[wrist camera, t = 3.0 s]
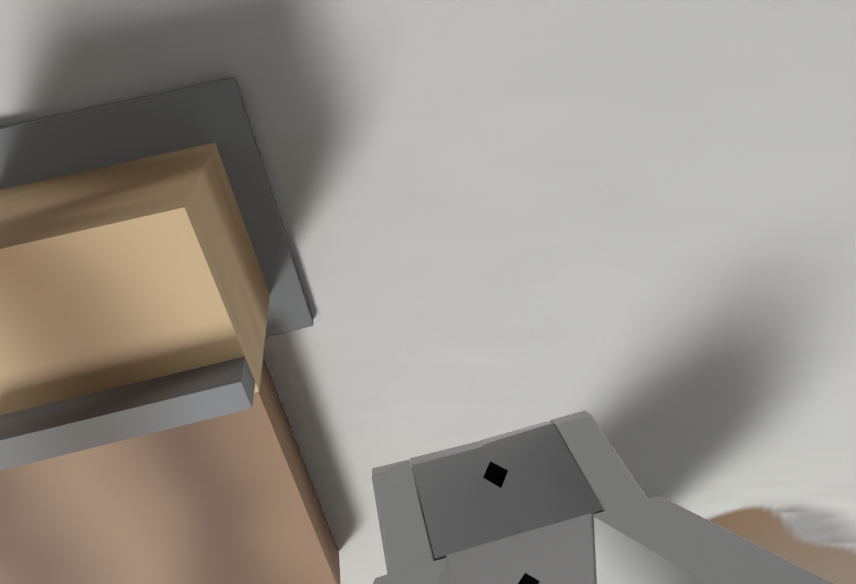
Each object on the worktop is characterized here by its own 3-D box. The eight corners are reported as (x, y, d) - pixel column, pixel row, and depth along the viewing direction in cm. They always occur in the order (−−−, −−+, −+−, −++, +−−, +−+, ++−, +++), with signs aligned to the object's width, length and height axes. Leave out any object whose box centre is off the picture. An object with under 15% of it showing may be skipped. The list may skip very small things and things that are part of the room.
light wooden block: (215, 142, 17) (175, 226, 12) (269, 294, 20) (256, 417, 14) (-4, 190, 17) (-143, 298, 12) (80, 339, 19) (-3, 482, 14)
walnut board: (258, 347, 21) (254, 383, 19) (338, 553, 26) (340, 595, 25) (-296, 480, 20) (-353, 531, 18) (-91, 666, 25) (-120, 718, 24)
